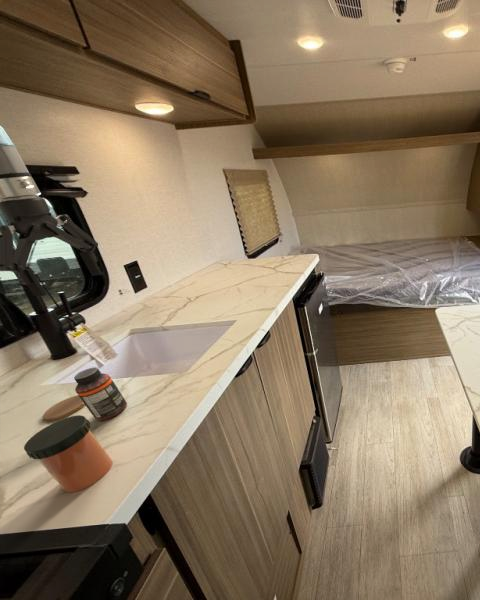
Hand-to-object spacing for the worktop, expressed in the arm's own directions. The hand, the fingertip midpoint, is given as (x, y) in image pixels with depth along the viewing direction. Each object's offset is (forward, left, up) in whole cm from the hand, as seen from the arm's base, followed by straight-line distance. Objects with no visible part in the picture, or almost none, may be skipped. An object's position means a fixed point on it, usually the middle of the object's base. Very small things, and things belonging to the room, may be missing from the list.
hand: (71, 284), depth 81 cm
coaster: (+2, -17, -26) cm, 31 cm away
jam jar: (+27, -35, -26) cm, 51 cm away
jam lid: (+27, -35, -16) cm, 47 cm away
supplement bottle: (+16, -19, -26) cm, 36 cm away
